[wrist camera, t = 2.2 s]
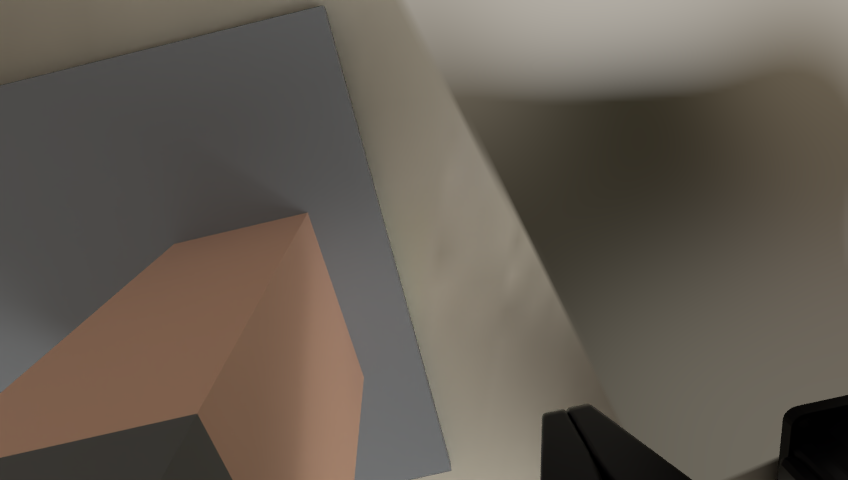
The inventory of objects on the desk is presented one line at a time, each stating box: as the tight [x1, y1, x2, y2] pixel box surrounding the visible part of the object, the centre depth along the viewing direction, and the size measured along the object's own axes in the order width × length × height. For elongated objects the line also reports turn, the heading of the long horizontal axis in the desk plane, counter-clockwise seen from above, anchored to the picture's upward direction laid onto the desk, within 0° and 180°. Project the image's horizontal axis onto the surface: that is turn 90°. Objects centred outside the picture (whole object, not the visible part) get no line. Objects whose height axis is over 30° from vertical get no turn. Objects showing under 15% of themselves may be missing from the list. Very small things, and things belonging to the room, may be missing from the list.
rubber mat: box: [0, 6, 451, 480], centre depth 15 cm, size 18×16×1 cm
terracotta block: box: [0, 213, 364, 480], centre depth 10 cm, size 4×6×9 cm, turn 13°
